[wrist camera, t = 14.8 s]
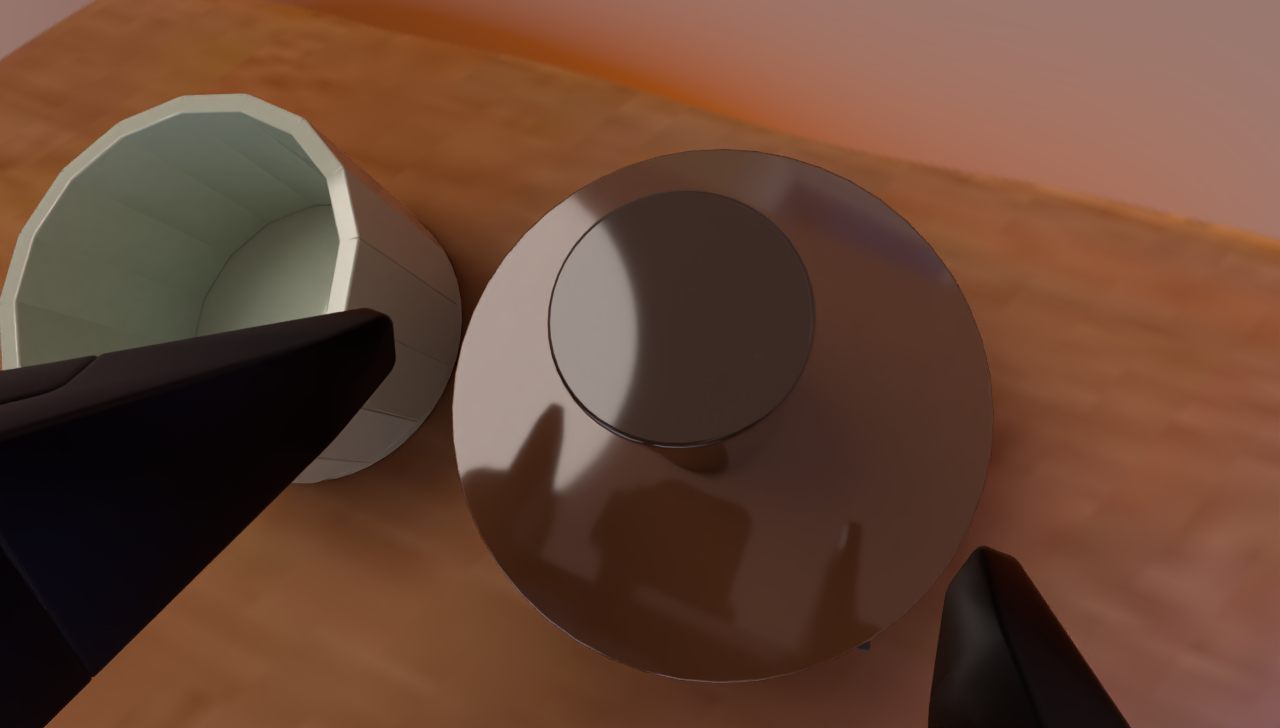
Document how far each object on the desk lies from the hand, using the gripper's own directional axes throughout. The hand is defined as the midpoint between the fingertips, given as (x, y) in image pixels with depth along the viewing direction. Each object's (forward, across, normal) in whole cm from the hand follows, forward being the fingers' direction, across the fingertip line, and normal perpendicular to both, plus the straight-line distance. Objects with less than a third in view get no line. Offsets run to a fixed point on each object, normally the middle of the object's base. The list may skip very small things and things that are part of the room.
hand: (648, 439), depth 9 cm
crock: (+7, +14, +7) cm, 17 cm away
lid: (+5, 0, +2) cm, 5 cm away
